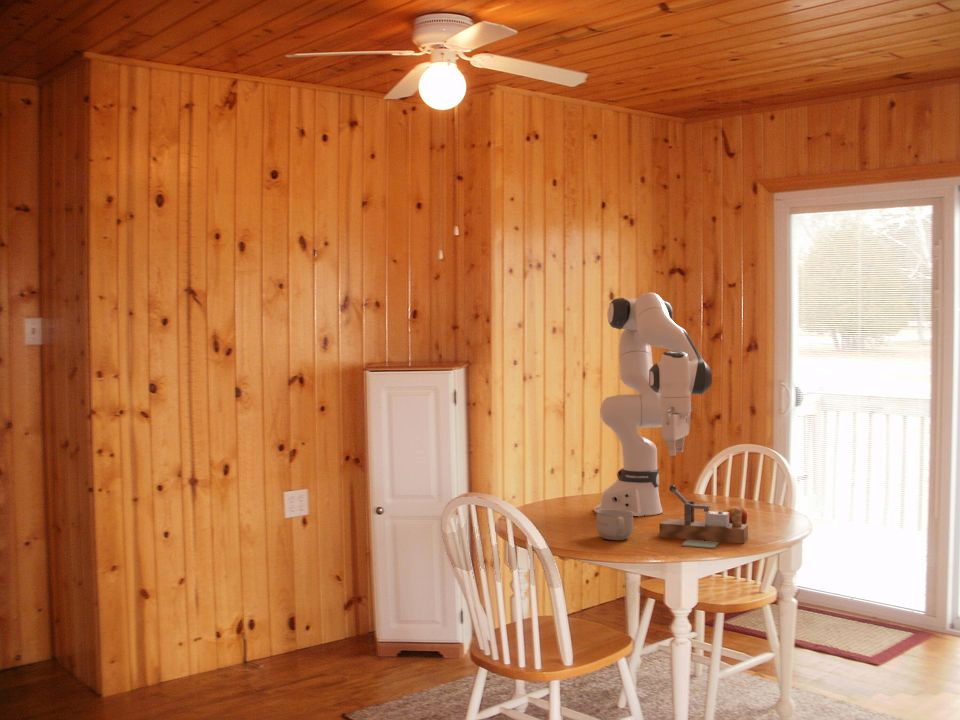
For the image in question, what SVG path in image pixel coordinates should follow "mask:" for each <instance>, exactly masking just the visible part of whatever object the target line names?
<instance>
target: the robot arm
mask: <svg viewBox="0 0 960 720" xmlns="http://www.w3.org/2000/svg"><path fill="white" fill-rule="evenodd" d="M673 313H674V312H673V307H672V305H671V303H669V302H667V301H665V300H663V299H662V297H661V296H660V295H659V294H657V293H655V292H652V291H651V292H650V291H649V292H645V293H642V294H640V295H639V296H637V298H633V297H631V298H624V297H618V298H615V299H613V300H612V301H611V302H610V303H609V304H608V307H607V320H608V324H609V325H610V327H612V328H614V329H617V330H622V329H623V331H622V332H621V334H620V339H619V345H618V346H619V347H618V354H619V355H618V359H619V361H618V362H619V375H620V377H619V378H620V379H621V382H622V384H624V386H626V387H628V388H630V389H632V390H634V391H636V392H637V393H638V394H637V393H636V394H617V395H611V396H607V397H606V398H604V400H603V401H602V403H601V405H600V410H599V413H600V418H601V420H602V422H603V424H605V425H606V426H607V427H608V428H610V429H611V430H612V431H613V432H614V434H616V436H617V437H618V440H619V443H620V445H621V449H622V460H623V461H622V462H623V463H622V464H623V466H622V467H621V468H620V469H619V470H618V471H617V473H616V476H617V479H618V480H616V481H615V482H614V483H612V484H611V485H610V486H609V487H607V488H606V489H605V490H604V491H603V492H602V494H601V498H600V504H598V505H595V506H594V507H593V511H594V510H596V511H597V510H601V509H618V510H626V511H631V512H633V513H634V516H638V517H643V516H644V515H645V516H653V515H655V516H656V515H658V514H660V515H661V513H662V514H663V512H664V511H663V508H662V504H661V499H660V494H659V484H660V474H659V473H660V471H659V469H658V449H657V446H656V444H655V443H654V442H653V441H652V440H650V439H648V438H647V437H644V436H642V435H641V434H639V432H638V431H639V430H638V429H640V428H661V429H662V430H661V436H662V437H661V438H662V441H663V442H666V443H667V444H666V445H667V448H668V449H667V450H668V455H669V456H670V457H674V456H677V453H683V452H684V445H685V437H686V436H688V435H689V433H690V430H691V413H692V411H693V403H692V395H703V394H704V393H706V392H707V391H708V390H709V389H710V388H711V386H712V383H713V376H712V375H713V374H712V371H711V368H710V366H709V365H708V364H707V363H706V361H705V360H704V359H703V358H702V355H701V354H700V351H698V349H697V347H696V346H695V343H694V342H693V340H692V338H691V337H690V335H689V334H688V332H687V331H686V330H685V328H683V327H681V326H679V325H678V324H676V323H675V322H674V320H673V317H674V314H673ZM652 347H657V348H662V349H667V350H668V351H664V352H662V354H661V356H660V361H659V362H657V363H654V364H653V353H652Z"/></svg>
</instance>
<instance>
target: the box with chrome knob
mask: <svg viewBox="0 0 960 720" xmlns="http://www.w3.org/2000/svg"><path fill="white" fill-rule="evenodd" d="M723 511H724V510H721V511H715V510H709V512H705V513H704V520H705V521H704V522H705V526H716V527H727V526H728V525H729V512H723Z"/></svg>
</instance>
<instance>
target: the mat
mask: <svg viewBox="0 0 960 720" xmlns="http://www.w3.org/2000/svg"><path fill="white" fill-rule="evenodd" d="M719 544H720V542H717V541H704V540H691V539H685V541H684V542H682V543H681V547H689V548H700V549H701V548H702V549H715V548H717V546H718V545H719Z"/></svg>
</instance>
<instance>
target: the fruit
mask: <svg viewBox="0 0 960 720" xmlns="http://www.w3.org/2000/svg"><path fill="white" fill-rule="evenodd" d="M734 508H739V509H741V511H742V516H741V519H742V524H746V525H747V520H748V513H747V511H746V510H745V509H744V508H742V507H740V506H737V505H734V506H730V507H726V508H725V509H724V510H722V511H723V512H729V523H732V514H731V511H732V510H733V509H734Z"/></svg>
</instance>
